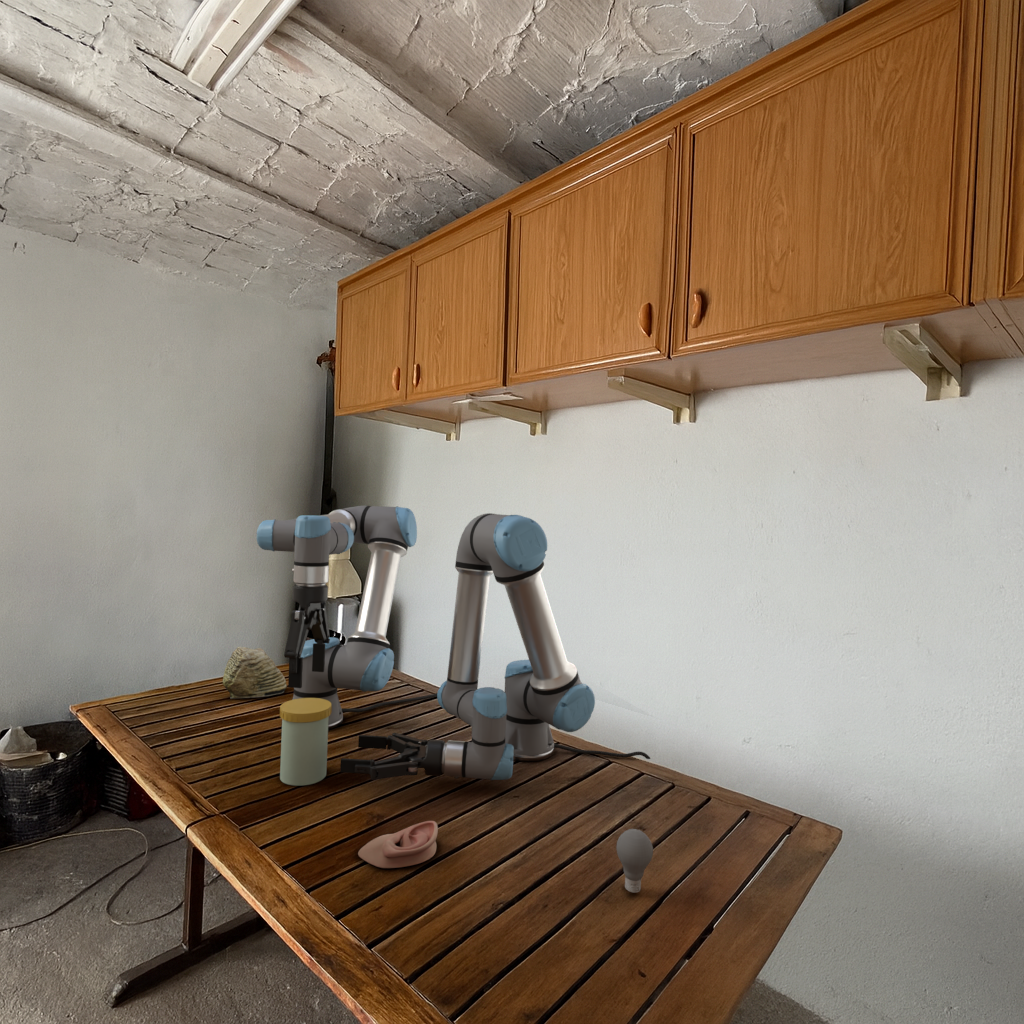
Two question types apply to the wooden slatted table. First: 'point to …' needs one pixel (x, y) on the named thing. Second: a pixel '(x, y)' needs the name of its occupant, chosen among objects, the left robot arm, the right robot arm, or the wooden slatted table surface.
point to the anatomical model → (402, 846)
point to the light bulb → (634, 857)
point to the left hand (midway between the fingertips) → (307, 679)
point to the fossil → (252, 674)
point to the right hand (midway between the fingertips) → (350, 752)
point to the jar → (304, 752)
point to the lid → (305, 710)
